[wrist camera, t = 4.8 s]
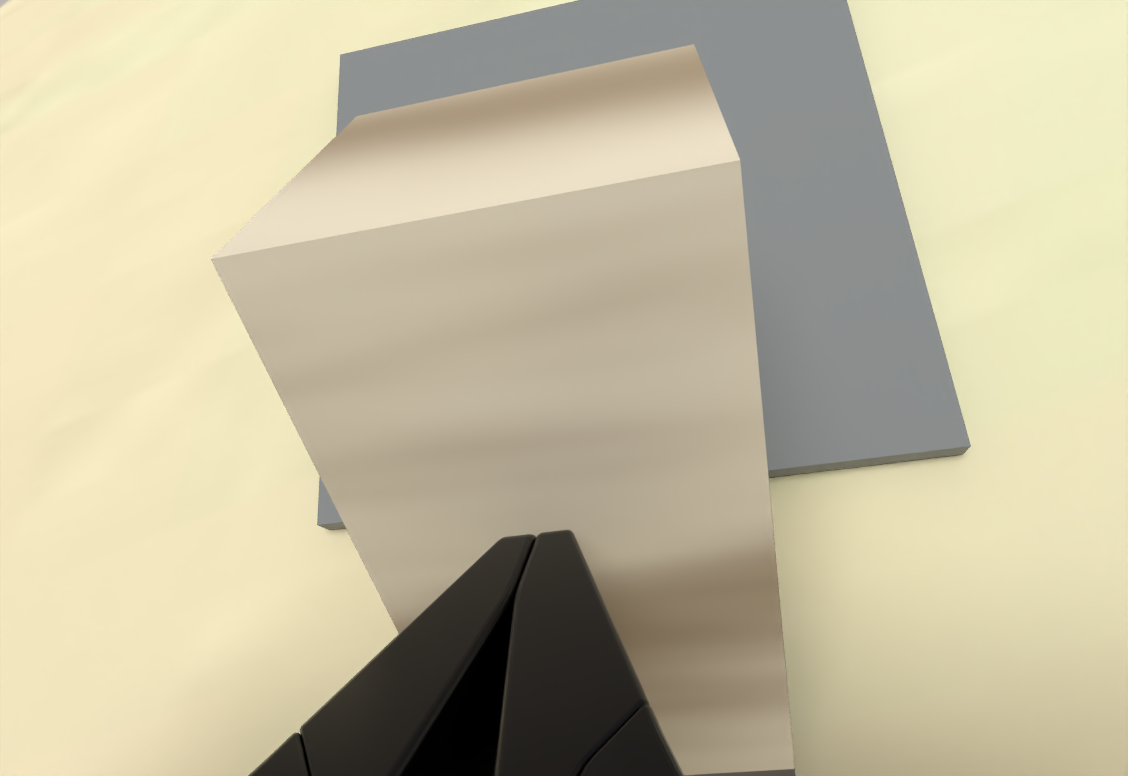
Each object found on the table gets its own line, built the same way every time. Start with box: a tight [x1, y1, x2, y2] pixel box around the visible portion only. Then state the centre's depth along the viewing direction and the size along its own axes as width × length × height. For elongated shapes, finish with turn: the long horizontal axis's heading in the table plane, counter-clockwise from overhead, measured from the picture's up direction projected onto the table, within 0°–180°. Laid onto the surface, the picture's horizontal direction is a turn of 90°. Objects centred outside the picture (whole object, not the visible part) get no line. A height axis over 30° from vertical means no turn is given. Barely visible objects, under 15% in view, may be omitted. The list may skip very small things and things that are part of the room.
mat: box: [317, 0, 971, 530], centre depth 19 cm, size 14×14×1 cm
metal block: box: [211, 44, 795, 776], centre depth 12 cm, size 5×5×10 cm
